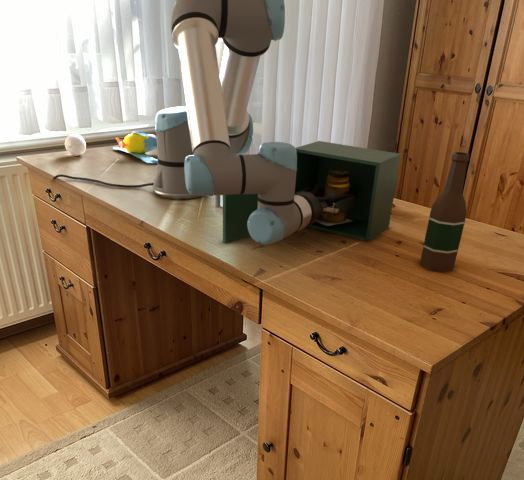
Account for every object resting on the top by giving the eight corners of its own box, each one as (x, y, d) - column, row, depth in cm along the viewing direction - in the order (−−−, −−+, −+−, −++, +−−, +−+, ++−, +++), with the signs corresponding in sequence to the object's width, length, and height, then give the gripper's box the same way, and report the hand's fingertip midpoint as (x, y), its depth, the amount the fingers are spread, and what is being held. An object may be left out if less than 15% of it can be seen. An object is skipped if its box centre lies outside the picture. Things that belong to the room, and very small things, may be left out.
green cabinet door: (207, 236, 130) (206, 157, 121) (271, 217, 144) (274, 145, 135) (225, 243, 127) (225, 162, 117) (288, 223, 141) (293, 149, 131)
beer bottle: (413, 259, 123) (435, 148, 110) (446, 259, 124) (472, 149, 111) (425, 272, 116) (449, 157, 104) (460, 273, 117) (488, 158, 105)
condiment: (352, 221, 137) (358, 173, 131) (327, 226, 133) (332, 176, 126) (333, 213, 142) (338, 166, 136) (308, 218, 138) (312, 170, 131)
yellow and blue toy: (101, 125, 201) (138, 124, 210) (103, 150, 206) (139, 147, 214) (136, 139, 183) (175, 136, 192) (138, 165, 188) (176, 161, 196)
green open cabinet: (368, 241, 132) (379, 162, 122) (288, 222, 142) (293, 148, 132) (388, 228, 141) (400, 153, 131) (312, 210, 151) (318, 140, 142)
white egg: (63, 154, 198) (59, 133, 194) (83, 152, 202) (80, 131, 198) (72, 160, 191) (69, 138, 187) (93, 158, 195) (90, 136, 191)
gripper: (262, 219, 127) (310, 198, 144) (334, 237, 118) (376, 212, 135) (263, 187, 123) (312, 169, 140) (338, 203, 114) (381, 182, 131)
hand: (344, 190), depth 137 cm, fingers closed on condiment, 6 cm apart
